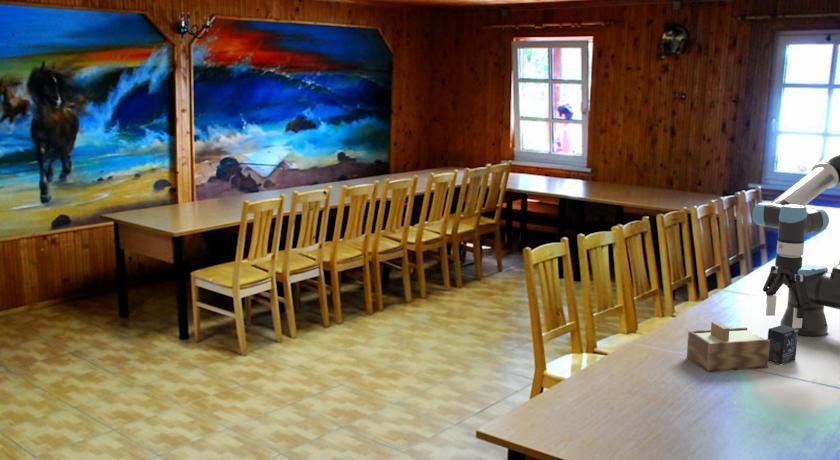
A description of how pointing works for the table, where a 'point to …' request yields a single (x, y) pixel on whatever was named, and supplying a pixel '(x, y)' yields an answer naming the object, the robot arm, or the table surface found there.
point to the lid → (727, 334)
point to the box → (782, 344)
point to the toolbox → (727, 353)
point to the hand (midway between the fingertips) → (783, 321)
